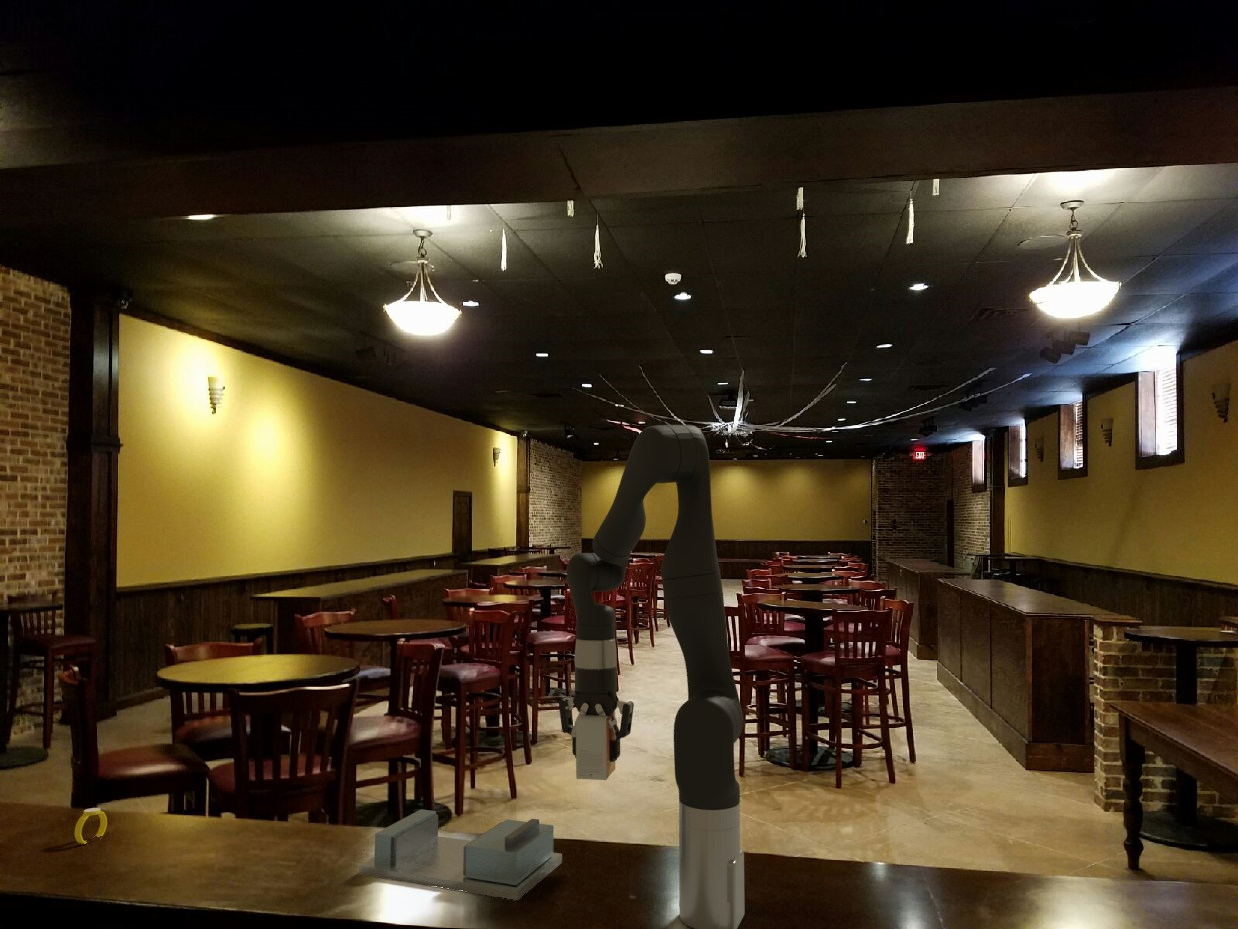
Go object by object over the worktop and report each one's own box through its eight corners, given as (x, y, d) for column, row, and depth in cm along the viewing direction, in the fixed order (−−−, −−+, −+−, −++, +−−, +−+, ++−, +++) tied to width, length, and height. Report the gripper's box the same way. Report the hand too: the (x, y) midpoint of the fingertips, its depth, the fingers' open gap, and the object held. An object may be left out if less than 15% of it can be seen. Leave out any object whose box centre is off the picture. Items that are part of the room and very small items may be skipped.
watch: (97, 838, 167) (100, 805, 168) (108, 839, 166) (112, 806, 167) (69, 846, 161) (73, 812, 162) (81, 848, 161) (85, 814, 162)
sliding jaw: (553, 855, 153) (553, 817, 153) (516, 885, 140) (516, 843, 140) (502, 847, 156) (502, 810, 157) (461, 876, 143) (462, 836, 144)
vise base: (562, 862, 154) (562, 824, 154) (517, 901, 138) (517, 858, 138) (415, 841, 164) (416, 805, 165) (358, 874, 148) (359, 835, 149)
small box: (606, 781, 152) (606, 719, 153) (575, 779, 153) (575, 718, 154) (616, 769, 160) (616, 710, 161) (586, 767, 161) (586, 709, 162)
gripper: (640, 663, 159) (641, 757, 158) (567, 659, 164) (567, 751, 163) (626, 669, 152) (626, 768, 151) (550, 665, 157) (550, 761, 156)
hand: (596, 759), depth 157 cm, fingers closed on small box, 6 cm apart
